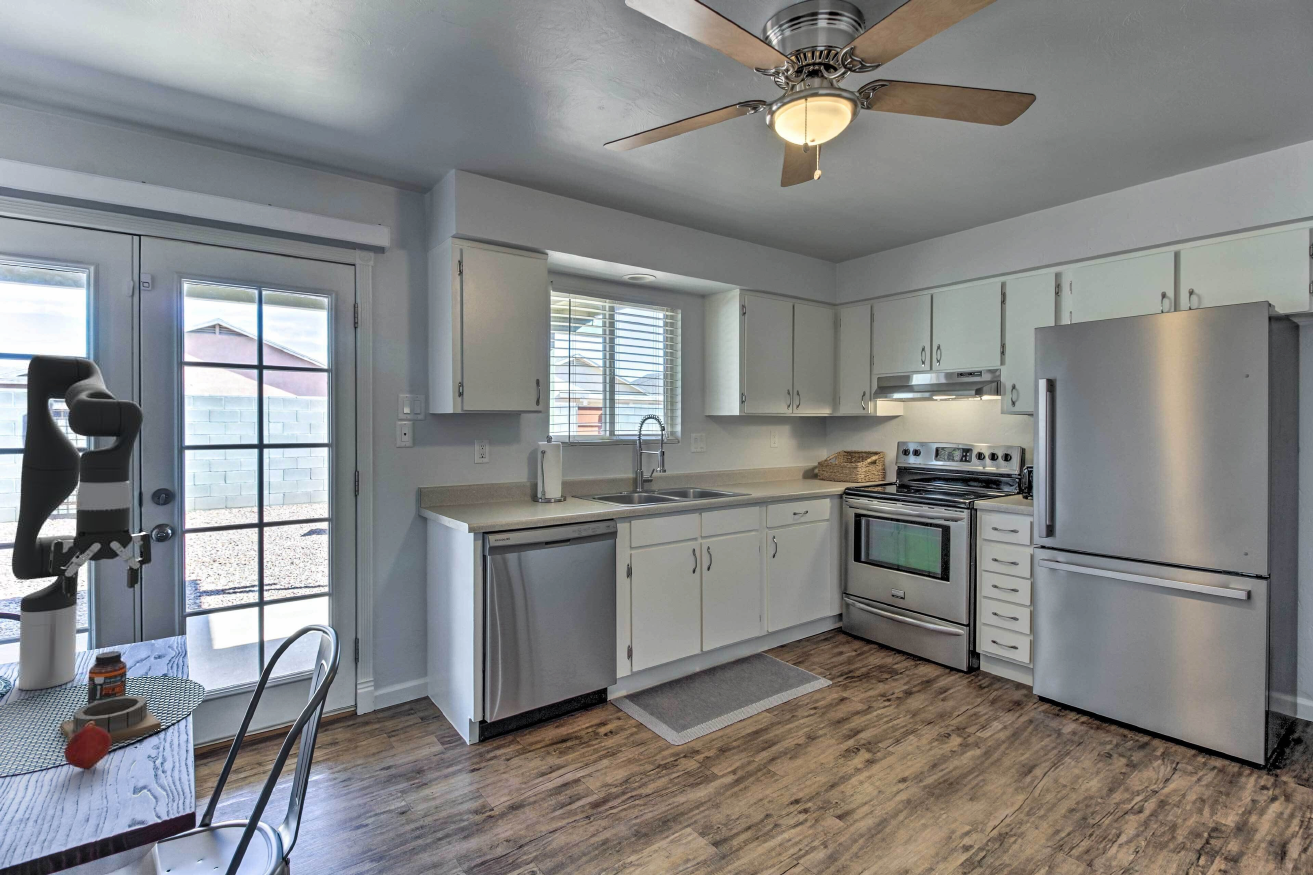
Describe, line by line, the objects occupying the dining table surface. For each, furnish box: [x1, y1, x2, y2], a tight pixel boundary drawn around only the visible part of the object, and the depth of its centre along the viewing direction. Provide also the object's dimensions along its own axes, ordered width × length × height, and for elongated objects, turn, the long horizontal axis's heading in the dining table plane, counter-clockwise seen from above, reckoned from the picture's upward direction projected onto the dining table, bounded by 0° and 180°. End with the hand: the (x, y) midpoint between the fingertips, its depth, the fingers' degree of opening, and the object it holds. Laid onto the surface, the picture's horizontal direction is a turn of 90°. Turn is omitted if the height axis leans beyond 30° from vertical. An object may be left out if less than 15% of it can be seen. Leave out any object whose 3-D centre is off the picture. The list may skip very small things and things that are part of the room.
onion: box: [64, 721, 112, 770], centre depth 106 cm, size 6×6×8 cm
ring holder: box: [59, 695, 162, 745], centre depth 120 cm, size 14×12×4 cm
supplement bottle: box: [87, 650, 128, 705], centre depth 130 cm, size 6×6×11 cm
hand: (101, 591), depth 117 cm, fingers open, 8 cm apart
